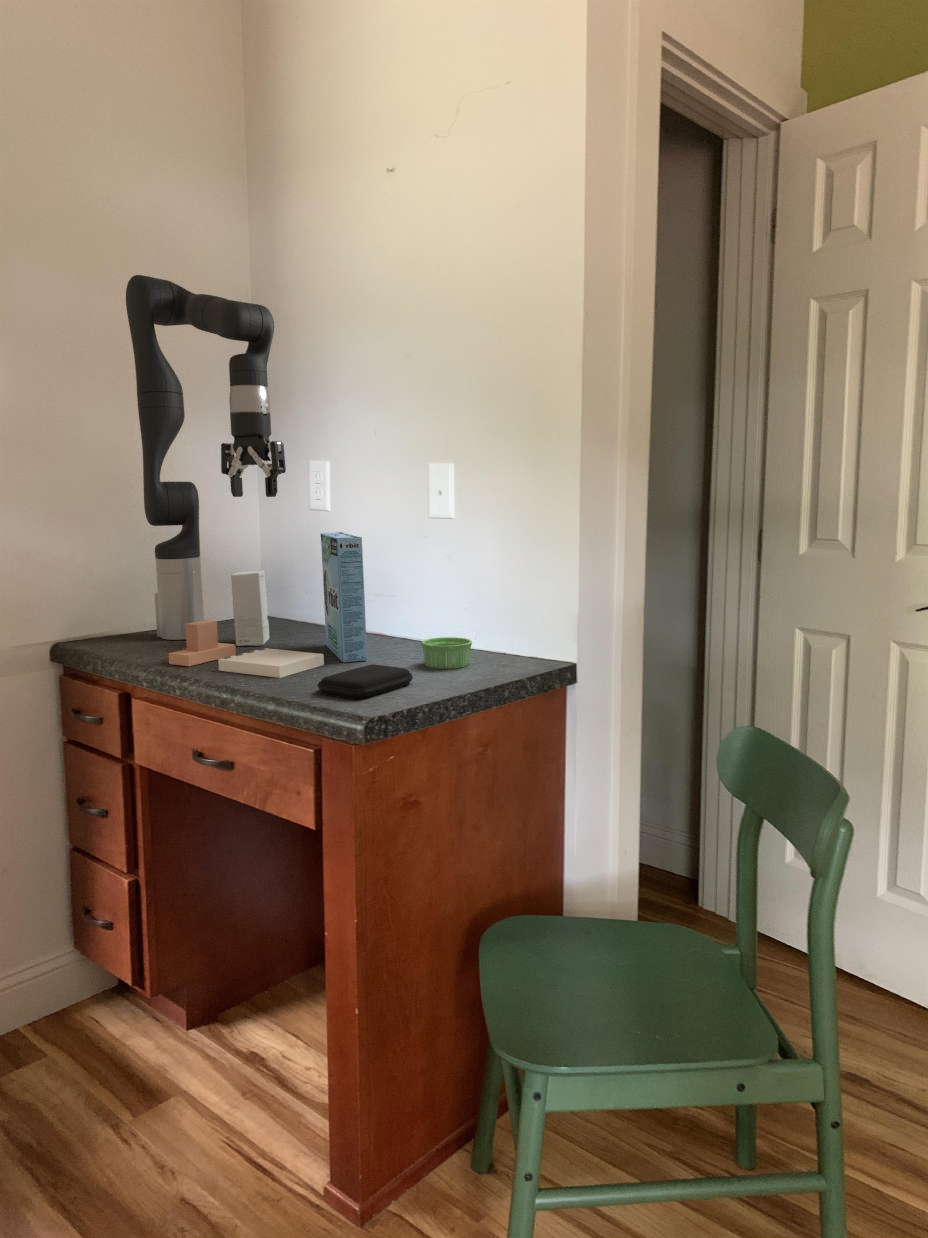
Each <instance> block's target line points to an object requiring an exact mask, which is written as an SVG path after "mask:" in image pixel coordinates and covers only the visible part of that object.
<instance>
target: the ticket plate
mask: <svg viewBox="0 0 928 1238" xmlns="http://www.w3.org/2000/svg"><path fill="white" fill-rule="evenodd" d="M324 657H325V655H324V653H316V652H309V651H308V652H307V651H306V652H305V651H299V650H297V651H296V650H287V649H275V648H267V647H264V648H260V649H258V648H257V649H255V650H252V651H247V652H243V653H242V652H241V653H239V654H236V655H233V656H229V657H225V658H221V659H217V660H218V661H217V662H218V671H220V672H221V671H222V672H229V673H237V674H246V675H253V676H262V677H263V676H264V677H269V678H277V679H279V678H280V679H282V678H284V677H287V676H292V675H293V674H298V673H301V672H304V671H308V670H311V669H316V668H318V667H322V666H324V665H325V658H324Z"/></svg>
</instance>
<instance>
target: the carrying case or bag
mask: <svg viewBox="0 0 928 1238" xmlns="http://www.w3.org/2000/svg"><path fill="white" fill-rule="evenodd" d="M412 680H413V674H412V673H411V672H410V671H409V669H408V668H405V667H398V666H389V665H383V664H382V665H381V664H376V663H375V664H374V663H373V664H368V665H363V666H360V667H356V668H352V669H349V670H345V671H341V672H338V673H335V674H331V675H328V676H324V677H323V678H322V679H321V680H320V681H319V682H318V683H317V684H316V687H317V688H318V690H319V691H320V692H321V693H322V694H323V695H325V696H331V697H335V698H344V699H349V700H358V701H360V700H364V699H368V698H371V697H374V696H378V695H380V694H381V695H382V694H384V693H387V692H391V691H394V690H397V689H400V688H404V687H406V686H409V684H410V682H412Z"/></svg>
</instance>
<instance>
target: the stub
mask: <svg viewBox="0 0 928 1238" xmlns="http://www.w3.org/2000/svg"><path fill="white" fill-rule="evenodd" d="M185 626H186V639H185V640H186V641H185V642H186V649H182V650H177V651H173V652H169V653H168V663H169V665H173V666H174V665H176V666H182V667H183V666H185V667H191V666H196V665H200V664H203V663H204V664H205V663H207V662H214V661H217V660H218V659H222V658H226V657H230V656H234V655H237V654H236V651H237V649H236V644H232V643H224V642H223V643H222V642H219V637H218V636H219V635H218V633H219V632H218V621H217V620H209V619H208V620H207V619H204V620H203V621H198V622H193V623H188V624H185Z"/></svg>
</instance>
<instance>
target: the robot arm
mask: <svg viewBox="0 0 928 1238" xmlns="http://www.w3.org/2000/svg"><path fill="white" fill-rule="evenodd" d="M125 288H126V289H125V307H126V314H127V320H128V327H129V331H130V338H131V343H132V349H133V356H134V357H133V358H134V369H135V380H136V397H137V398H136V399H137V411H138V420H139V429H140V437H141V447H142V472H143V475H142V476H143V477H142V479H143V481H142V483H143V505H144V507H143V508H144V512H145V513H144V515H145V518H146V521H147V522H148V524H150V525H151V526H153V527H159V526H160V527H164V526H165V527H166V526H170V527H171V526H181V530H180V532H179V533H177V534H176V535H175V536H174V537H172V538H169V539H167V540H164V541H162V542H159V543H157V544H156V545H155V547H154V558H155V560H154V561H155V571H156V572H155V573H156V587H157V588H156V589H157V592H155V593H154V607H155V620H156V621H155V622H156V623H155V624H156V637H158V638H160V639H163V640H169V641H170V640H171V641H172V640H173V641H174V640H175V641H176V640H177V641H178V640H179V641H180V640H186V626H185V624H188V623H193V622H198V621H203V620H205V614H204V613H205V611H204V597H203V595H204V594H203V582H202V581H203V579H202V577H203V576H202V565H201V564H202V563H201V560H202V559H201V549H200V548H201V545H200V540H201V539H200V499H199V491H198V489H197V486H196V485H195V483H193V481H161V472H162V471H161V470H162V467H163V464H164V463H163V462H164V460H165V458H166V455H167V453H168V451H169V449H170V447H171V446H172V445H173V442H174V440H175V439H176V437H177V436H178V434H179V432H180V430H181V429H182V426H183V424H184V421H185V414H186V413H185V404H184V403H185V402H184V391H183V386H182V383H181V382H180V380H179V377H178V375H177V374H176V372H175V370H174V369H173V367H172V366H171V364H170V362H169V361H168V359H167V358H166V356H165V355H164V353H163V352H162V349H161V347H160V345H159V342H158V338H157V333H156V329H155V328H156V327H155V326H162V327H171V326H185V325H186V326H187V325H190V326H193V327H194V328H195V329H197V330H200V331H203V332H206V333H210V334H213V335H217V336H219V337H220V338H223V339H227V340H231V341H238V342H247V344H248V345H247V348H246V351H245V353H244V352H243V353H238V354H234V355H232V356H231V357H230V358H229V361H228V371H229V372H228V373H229V398H228V399H229V416H230V417H229V418H230V419H229V420H230V421H229V422H230V434H231V435H232V437H233V443H229V442H222V443H221V445H220V456H221V457H220V466H221V467H220V471H221V472H220V473H221V474H223V475H226V476H228V478H229V479H230V480H229V481H230V493H231V495H232V497H233V498H239V497H240V498H242V497H243V495H244V490H243V489H244V488H243V478H242V475H243V473H244V471H245V470H246V469H247V468H249V467H248V466H254V465H256V466H258V468H260V469H261V470H262V472H263V473H264V475H265V477H264V482H265V483H264V485H265V496H266V497H267V498H274V497H277V494H278V477H279V475H281V474H285V473H287V472H286V471H287V470H286V458H285V457H286V456H285V447H284V442H283V441H281V440H272V441H270V437H271V435H272V424H271V419H272V417H271V402H270V401H271V400H270V393H269V388H268V386H269V383H268V362H269V356H270V354H271V353H270V351H271V347H272V343H273V338H274V333H275V321H274V318H273V315H272V313H271V311H270V310H269V308H268V307H266V306H265V305H262V304H258V303H250V302H243V301H238V300H231V299H227V298H225V297H222V296H216V295H212V294H206V293H197V294H196V293H194V292H191V291H190V290H188V289H186V288H184V287H183V286H181V285H179V284H177V283H175V282H173V281H170V280H167V279H161V278H158V277H157V278H156V277H153V276H148V275H142V274H135V275H133V276H132V277H130V279H129V280H128V281H127V285H126V287H125Z"/></svg>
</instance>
